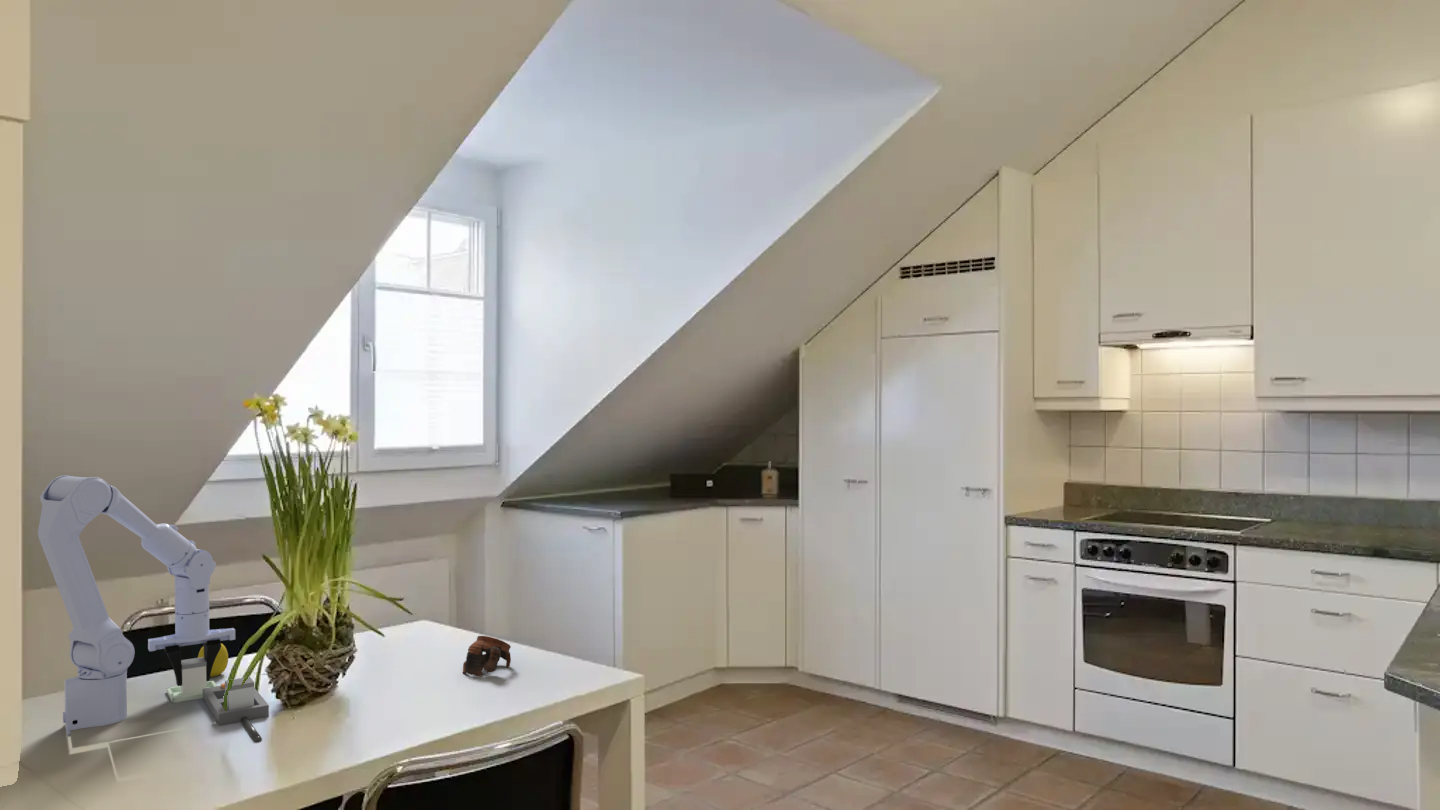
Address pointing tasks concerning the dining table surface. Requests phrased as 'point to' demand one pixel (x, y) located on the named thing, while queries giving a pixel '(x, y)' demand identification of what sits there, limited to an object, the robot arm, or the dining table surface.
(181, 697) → the tray
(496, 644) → the brown belt with pouches
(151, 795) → the dining table surface
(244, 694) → the twin plug
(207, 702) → the power strip
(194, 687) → the plug
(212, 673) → the lemon
